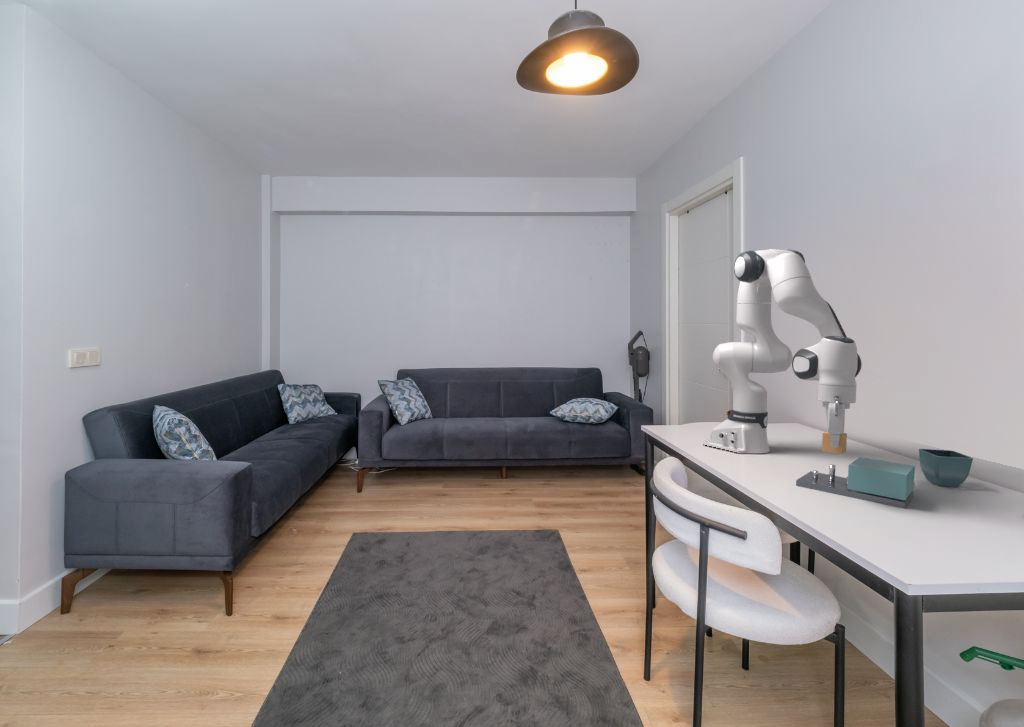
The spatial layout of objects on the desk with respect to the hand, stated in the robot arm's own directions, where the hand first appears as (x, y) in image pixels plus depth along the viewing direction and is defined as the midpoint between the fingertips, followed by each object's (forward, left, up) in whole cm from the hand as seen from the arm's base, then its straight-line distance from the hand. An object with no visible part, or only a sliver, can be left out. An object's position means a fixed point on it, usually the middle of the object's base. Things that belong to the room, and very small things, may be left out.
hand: (834, 445), depth 136 cm
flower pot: (+21, +26, -12) cm, 36 cm away
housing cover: (+11, 0, -10) cm, 15 cm away
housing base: (+5, 0, -12) cm, 13 cm away
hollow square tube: (0, 0, -2) cm, 2 cm away
